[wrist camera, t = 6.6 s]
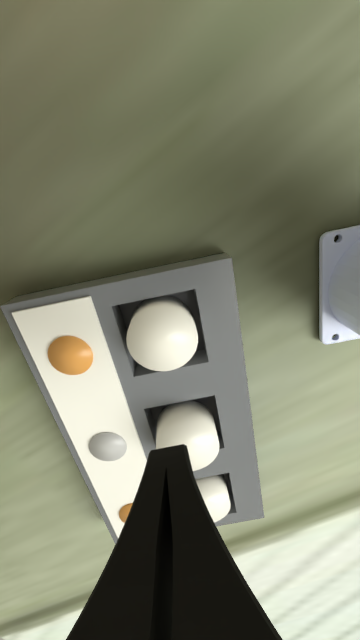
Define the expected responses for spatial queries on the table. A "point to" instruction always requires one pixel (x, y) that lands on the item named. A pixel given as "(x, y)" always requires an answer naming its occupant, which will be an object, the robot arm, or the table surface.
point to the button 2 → (189, 431)
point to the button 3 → (215, 495)
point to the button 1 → (162, 334)
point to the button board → (140, 378)
